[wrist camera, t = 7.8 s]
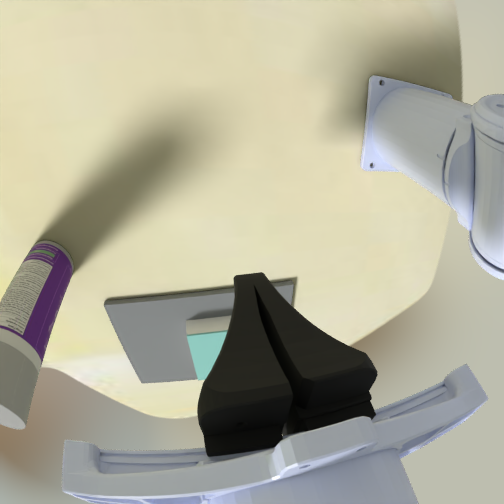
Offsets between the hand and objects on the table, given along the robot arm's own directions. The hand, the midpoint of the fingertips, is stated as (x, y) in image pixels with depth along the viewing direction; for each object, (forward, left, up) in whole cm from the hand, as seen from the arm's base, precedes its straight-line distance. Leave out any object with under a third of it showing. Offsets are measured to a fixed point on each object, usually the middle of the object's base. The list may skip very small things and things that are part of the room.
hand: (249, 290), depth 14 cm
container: (+16, +4, -11) cm, 20 cm away
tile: (-2, +16, -9) cm, 18 cm away
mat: (+3, +16, -10) cm, 19 cm away
